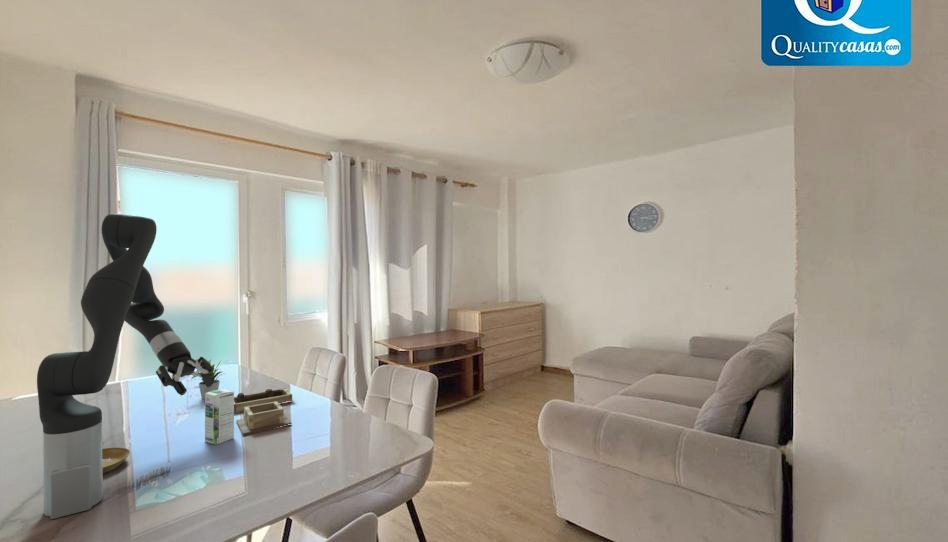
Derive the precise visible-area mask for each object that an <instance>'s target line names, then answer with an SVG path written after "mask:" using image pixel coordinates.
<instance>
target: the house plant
mask: <svg viewBox="0 0 948 542" xmlns="http://www.w3.org/2000/svg"><path fill="white" fill-rule="evenodd" d="M204 359H205V360H206V361H207V363H208V364H209V365H210V366H211V367H212V369H213V370H212V371H211V372H210V374H209V375H210V377H211V378H212V380H213V384H212V386H211V387H207V386H206V385H205V383H204V382H203V381H200V382H199V383H198V387H199V393H200V397H201V400H202V401H203V400H204V401H205V393H208V392H210V391H214V390H219V388H220V387H219V386H220V383H221V382H220V380H219V379H218V378H219V377H220V376H223V375H226V373H224V372H223V373H222V371H219V370H221V368H219V365H220V364H221V362H222V360H220V361H219V362H218V363H217V366H216V367H215V365H216V364H211V361H212V360H207V358H204ZM228 361H229V360H226V361H224V363H226V362H228ZM206 369H207V368H206ZM207 370H208V369H207ZM199 373H202V372H199ZM221 373H222V374H221ZM202 374H203V373H202ZM219 374H220V375H219ZM196 377H197V376H193V375H192V377H191V379H190V380H193V379H195V378H196ZM198 379H200V380H201V378H200V377H198Z"/></svg>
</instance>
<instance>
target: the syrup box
mask: <svg viewBox="0 0 948 542" xmlns="http://www.w3.org/2000/svg"><path fill="white" fill-rule="evenodd" d="M234 397H235V391H234V390H228V389H224V388H221V389H219V388H218V390H214V391H210V392H208V393H205V400H204V442H205V443H209V444H212V445H216V446H217V445H219V444H221V443H225V442H227V441H230V440H233V439H234V438H235V413H234Z"/></svg>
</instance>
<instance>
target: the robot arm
mask: <svg viewBox="0 0 948 542" xmlns="http://www.w3.org/2000/svg"><path fill="white" fill-rule="evenodd" d="M156 236H157V223H156V221H155V220H154V219H153V218H151V217H149V216H144V215H134V214H125V213H108V214H107V215H106V216H105V217H104V218H103V220H102V223H101V237H102V241H103V242H104V246H105V248H106V250H107V251H108V253H109V256H110V258H111V260H112V261H111V262H109V263H108V264H105V266H103V267H102V268H100V269H99V270H97V271H96V272H95V273H94V274H93V275H92V276H91V277H89V280H88V282H87V284H86V286H85V289H84V291H83V294H82V296H81V298H80V305H81V306H80V307H81V310H82V312H83V314H84V316H85V318H86V320H87V321H88V323H89V325H90V326H91V328H92V331H93V334H94V338H93V343H92V345H91V347H90V349H89V350H88V351H69V352H56V353H51V354H48V355H46V356H45V357H44V358H43V360H42V361H41V362H40V363H39V366H38V369H37V374H36V389H37V390H36V391H37V398H38V399H37V400H38V411H39V412H38V414H39V419H40V422H41V424H42V443H43V445H42V447H43V448H42V451H43V452H42V453H43V454H42V455H43V456H42V457H43V458H42V459H43V460H42V461H43V464H42V465H43V507H44V508H43V512H44V516H45V517H49V518H50V519H49V520H55V519H58V518H63V517H65V516H69V515H73V514H77V513H81V512H84V511H89V510H91V509H92V508H93V506H95V505H97V504H99V503H100V502H101V500H103V497H104V477H103V475H104V474H103V467H102V449H103V413H102V409H101V408H100V407H98V406H95V405H90V404H86V403H84V402H81V401H79V400H77V398H75V396H79V395H80V396H81V395H82V396H83V395H91V394H96V393H97V394H98V393H99V392H101V391H102V390H104V388H105V387H107V384H108V383H109V380H110V377H111V374H112V371H113V367H114V362H115V358H116V354H117V349H118V345H119V341H120V337H121V336H120V335H121V332H122V329H123V327H124V323H126V324H128V325H129V326H131V328H134V329H135V331H138V332H139V333H140V334H141V335H142V336H143V337H144V339H145V340H146V342H147V343H148V344H149V346H150V348H151V350H152V352H153V353H154V355H155V356H156V357H157V359H158V361H159V362H160V363H161V365H159V367H158V368H157V370H156V371H155V374H156V376H157V377H158V379H159V381H160V382H161V384H162V385H163V386H164V387H166V388H167V387H168V386H170V387H172V388H174V390H175V391H176V393H177V394H178V395H180V396H184V395H185V394H187V391H188V390H187V388H186V386H185V385H184V384H183V382H182V381H181V380H180V379H181V378H183V377H186V376H187V377H188V376H192V377H193V376H196V377H197V378H200V379H201V381H202V382H204V383H205V385H206V386H207V387H211V386H212V384H213V380H212V378H211V377H210V375H209V374H210V372H211V371H212V370H213V369H212V367H211V366H212V365H211V366H210V365H209V364H208V363H207V361H208V360H207V359H206V358H205V357H204V356H200V357H199V358H198V359H194V358H193V357H192V355H191V352H190V350H189V349H188V347H187V346H186V344H185V343H184V342H183V340H182V339H181V338H180V337H179V336H178V335H177V333H176V332H175V331H174V329H173V327H172V326H170V324H169V323H168V321H167V320H164V319H157V318H160V317H161V316H162V315H163V314H164V312H165V308H164V307H165V306H164V304H163V303H162V302H161V300H160V299H159V298H158V296H157V295H156V292H155V288H154V284H153V278H152V276H151V273H150V272H149V270H148V269H147V268H146V267H145V266H144V265H145V262H146V260H147V258H148V257H149V254H150V253H151V250H152V247H153V246H154V243H155V240H156ZM205 359H206V360H207V361H206V360H205ZM206 368H207V369H208V370H207V369H206ZM195 370H196V371H195ZM200 372H202V373H203V374H202V373H200ZM170 374H172V375H170Z"/></svg>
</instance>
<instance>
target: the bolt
mask: <svg viewBox="0 0 948 542" xmlns="http://www.w3.org/2000/svg"><path fill="white" fill-rule="evenodd" d="M273 390H274V389H271V388H269V389H266V390H265V391H261V392H262V393H261V392H256V393H257V394H255V393H250V394H251V395H249V394H245V393H243V392H238V394H237V395H236V397H237V403H242V402H247V401H253V400H259V399H264V398H270V397H276V396H282V395H283V393H282V390H279V389H275V390H274V391H273Z"/></svg>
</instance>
